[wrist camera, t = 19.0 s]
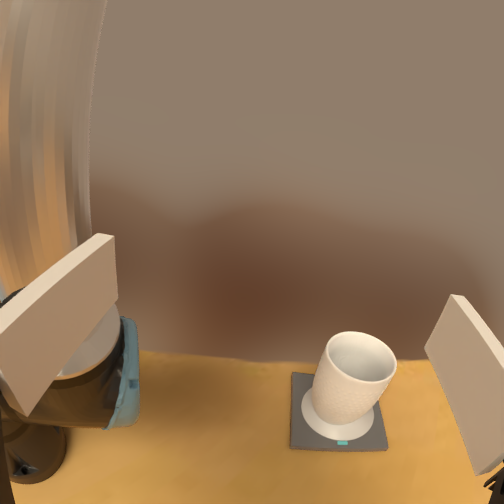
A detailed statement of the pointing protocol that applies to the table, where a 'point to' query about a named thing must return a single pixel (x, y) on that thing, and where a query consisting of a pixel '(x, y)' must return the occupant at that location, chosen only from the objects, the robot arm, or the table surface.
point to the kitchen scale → (331, 436)
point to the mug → (351, 377)
